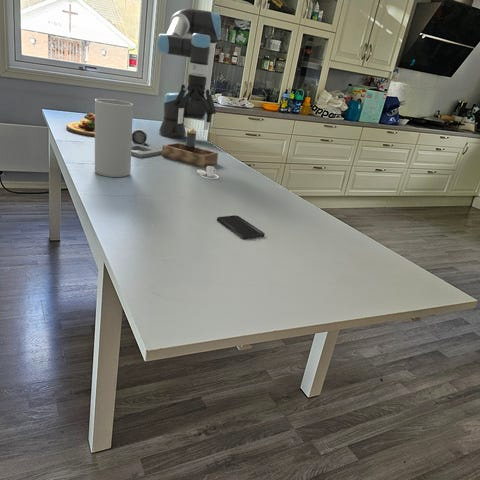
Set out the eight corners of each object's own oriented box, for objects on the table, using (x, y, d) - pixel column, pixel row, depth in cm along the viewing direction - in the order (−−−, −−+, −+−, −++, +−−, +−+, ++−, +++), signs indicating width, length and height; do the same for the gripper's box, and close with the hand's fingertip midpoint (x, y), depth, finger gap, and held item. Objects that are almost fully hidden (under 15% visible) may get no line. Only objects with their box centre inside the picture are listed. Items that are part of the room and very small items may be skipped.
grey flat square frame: (136, 146, 193) (136, 143, 192) (162, 153, 187) (162, 150, 187) (114, 150, 181) (114, 146, 180) (140, 158, 175) (140, 154, 174)
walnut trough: (161, 156, 184) (162, 145, 182) (177, 153, 194) (178, 142, 192) (202, 167, 175) (204, 156, 173) (217, 163, 185) (218, 152, 183)
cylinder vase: (137, 176, 150) (140, 105, 140) (106, 179, 141) (107, 104, 131) (118, 167, 157) (120, 99, 147) (88, 169, 148) (87, 98, 138)
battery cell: (188, 156, 187) (190, 127, 181) (195, 158, 185) (198, 129, 180) (182, 157, 183) (185, 128, 178) (190, 159, 182) (193, 130, 177)
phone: (237, 215, 125) (266, 234, 114) (236, 218, 126) (265, 238, 115) (215, 217, 121) (243, 237, 110) (214, 220, 121) (242, 241, 110)
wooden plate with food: (64, 124, 220) (64, 108, 216) (124, 128, 234) (125, 113, 230) (68, 136, 194) (68, 119, 191) (136, 140, 208) (137, 124, 205)
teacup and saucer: (193, 174, 165) (194, 164, 163) (208, 172, 171) (209, 163, 169) (208, 180, 160) (209, 170, 158) (222, 178, 165) (224, 168, 164)
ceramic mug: (146, 142, 205) (147, 127, 202) (146, 146, 198) (147, 130, 195) (125, 141, 202) (126, 125, 199) (124, 144, 195) (125, 128, 192)
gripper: (168, 69, 172) (164, 121, 180) (218, 79, 162) (212, 133, 171) (178, 70, 178) (174, 120, 187) (227, 80, 169) (221, 131, 177)
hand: (192, 126), depth 179 cm, fingers open, 13 cm apart
